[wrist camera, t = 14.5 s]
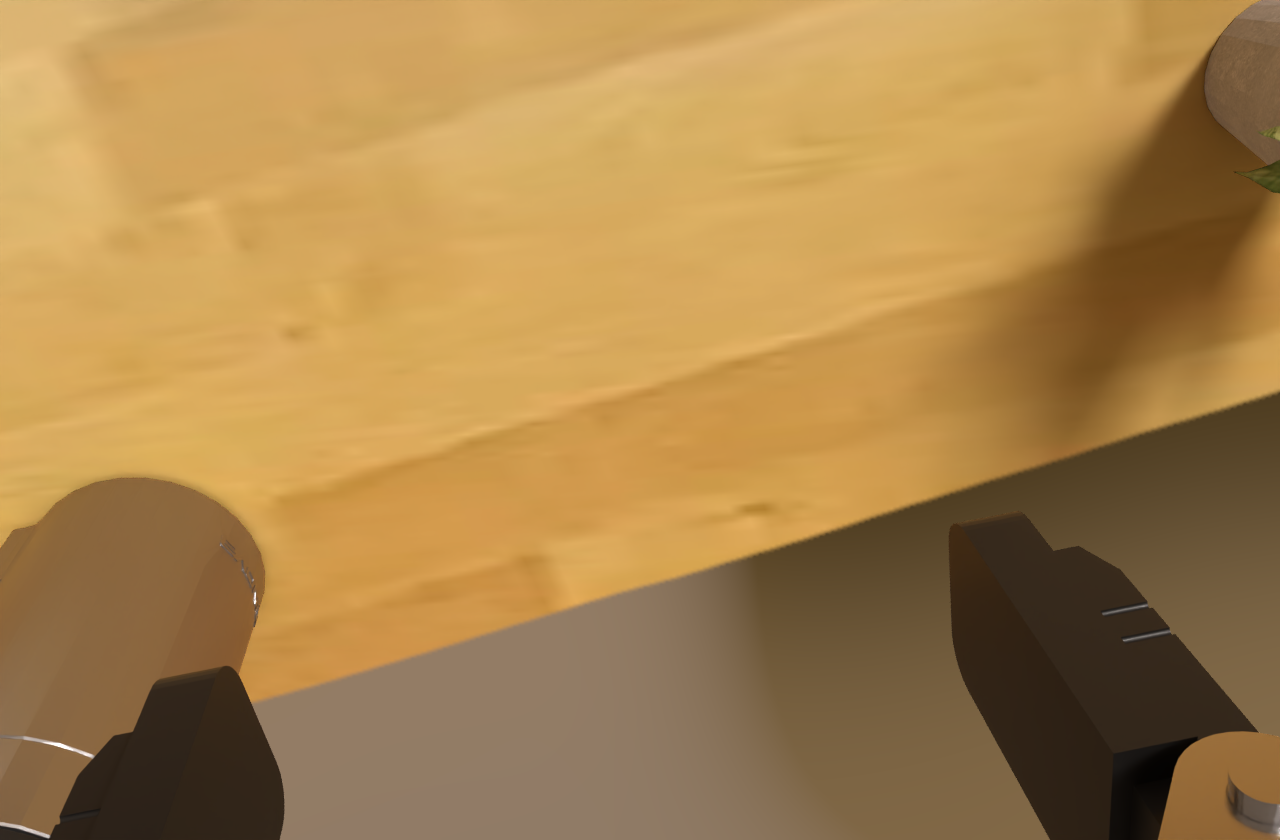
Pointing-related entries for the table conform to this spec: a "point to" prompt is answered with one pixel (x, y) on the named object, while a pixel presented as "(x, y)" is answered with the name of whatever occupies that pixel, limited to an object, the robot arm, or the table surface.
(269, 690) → the table surface
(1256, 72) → the house plant
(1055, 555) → the robot arm
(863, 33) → the table surface
